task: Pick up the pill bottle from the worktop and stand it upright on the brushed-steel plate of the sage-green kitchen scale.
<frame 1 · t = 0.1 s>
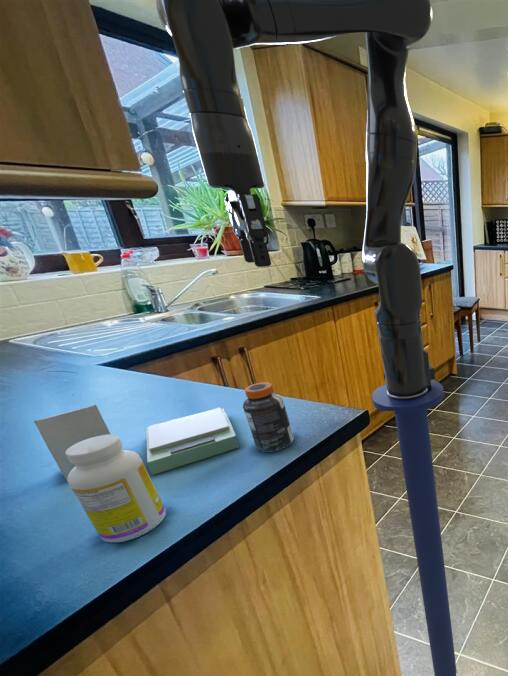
hand: (258, 264, 67), 30 cm above the counter, tool pointing down, fingers open, 8 cm apart
scale: (194, 443, 72), on the counter
pill bottle: (276, 444, 71), on the counter
supplement bottle: (136, 527, 53), on the counter
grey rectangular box: (95, 467, 66), on the counter
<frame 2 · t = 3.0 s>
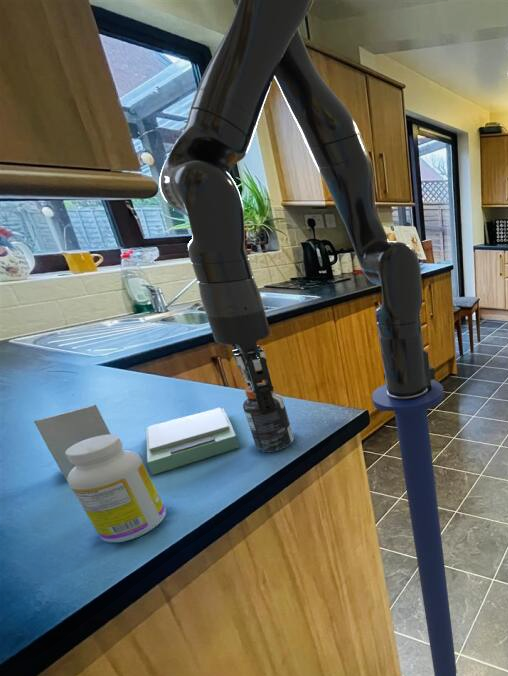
hand: (264, 405, 68), 8 cm above the counter, tool pointing down, fingers closed on pill bottle, 6 cm apart
pill bottle: (276, 444, 71), on the counter, touching gripper
everything else where it was.
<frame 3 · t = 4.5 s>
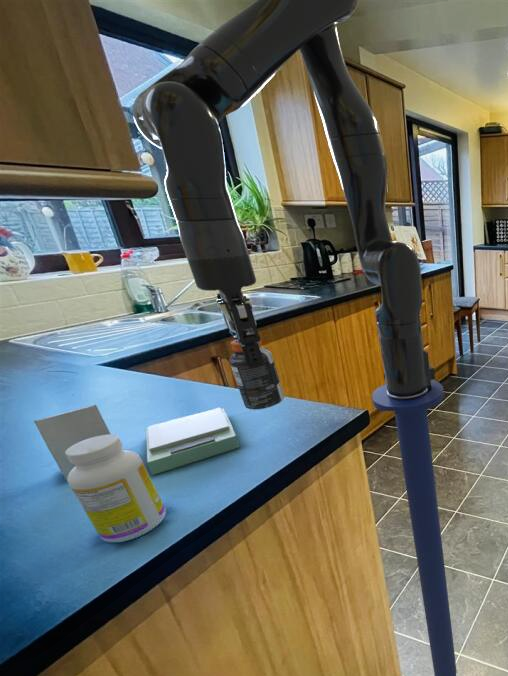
hand: (252, 360, 65), 16 cm above the counter, tool pointing down, fingers closed on pill bottle, 6 cm apart
pill bottle: (265, 403, 68), point 8 cm above the counter, touching gripper
everything else where it was.
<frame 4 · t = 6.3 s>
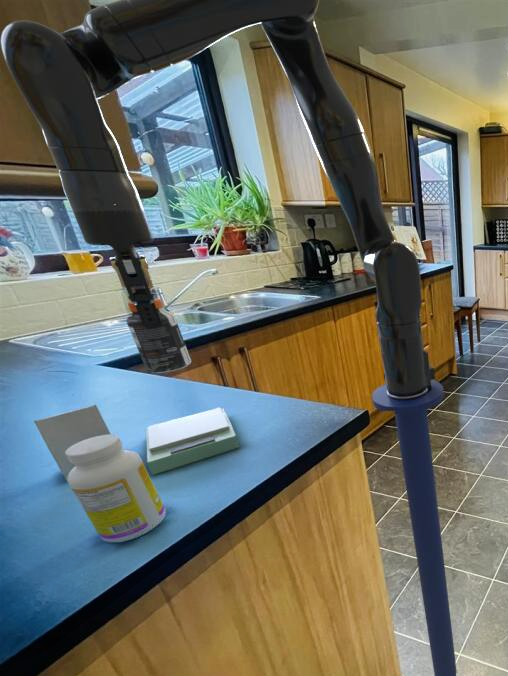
hand: (153, 322, 64), 22 cm above the counter, tool pointing down, fingers closed on pill bottle, 6 cm apart
pill bottle: (170, 368, 67), point 14 cm above the counter, touching gripper
everything else where it was.
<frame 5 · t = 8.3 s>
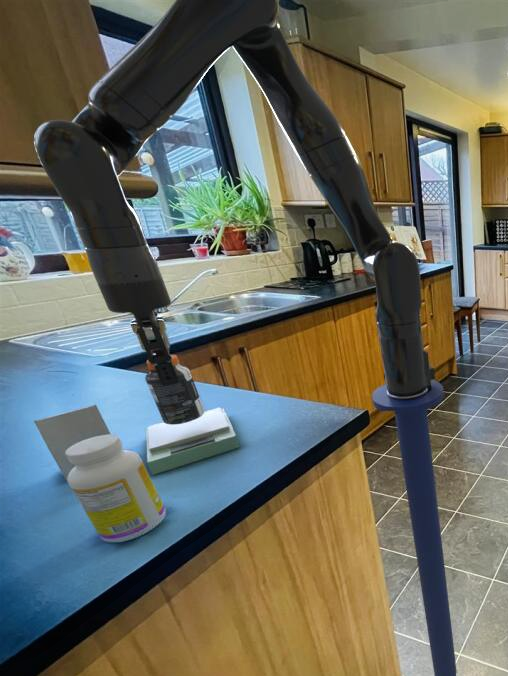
hand: (169, 378, 68), 12 cm above the counter, tool pointing down, fingers closed on pill bottle, 6 cm apart
pill bottle: (185, 418, 71), point 5 cm above the counter, touching gripper
everything else where it was.
when the fingers open (11 cm above the counter, at t = 9.4 s): pill bottle stays where it is, resting on scale.
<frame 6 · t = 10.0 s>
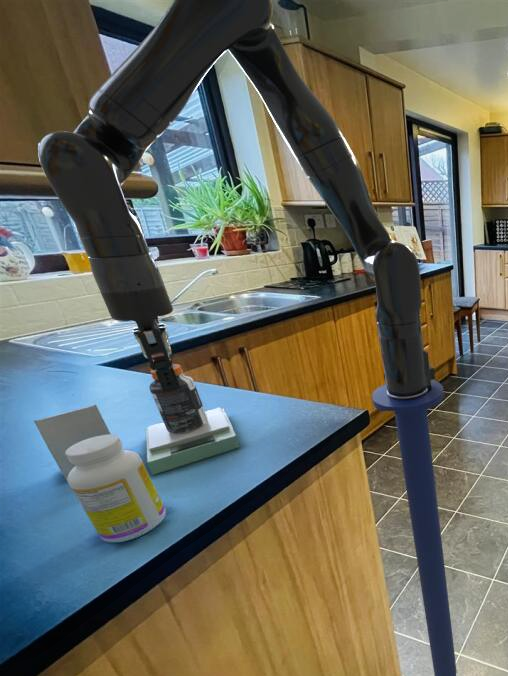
hand: (170, 381, 68), 12 cm above the counter, tool pointing down, fingers open, 8 cm apart
pill bottle: (189, 427, 72), point 3 cm above the counter, touching scale
everything else where it was.
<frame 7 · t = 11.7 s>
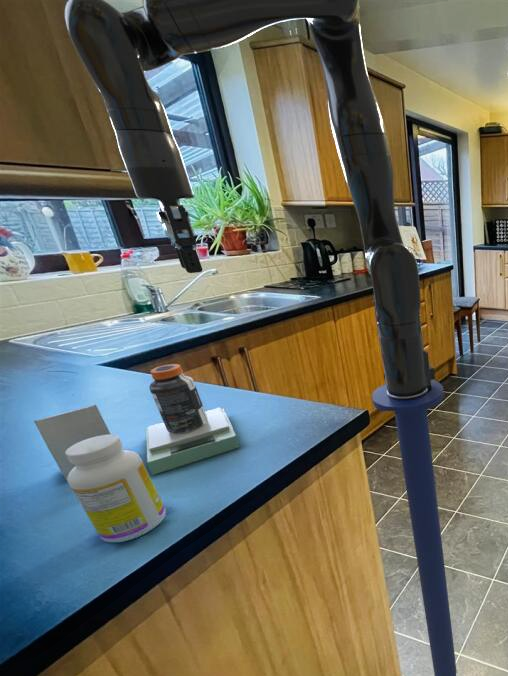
hand: (192, 270, 71), 29 cm above the counter, tool pointing down, fingers open, 8 cm apart
nothing on the counter moved.
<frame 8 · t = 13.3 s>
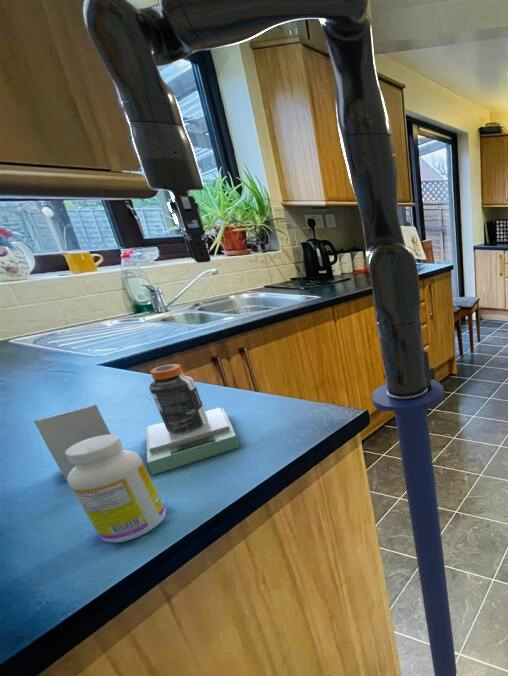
hand: (200, 260, 72), 30 cm above the counter, tool pointing down, fingers open, 8 cm apart
nothing on the counter moved.
at the end: pill bottle inside the target area on the scale (0.1 cm from its centre), point 2.8 cm above the scale's base; pill bottle tilted 0°; the gripper is holding nothing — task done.
